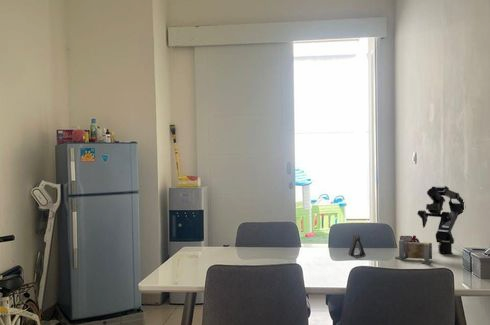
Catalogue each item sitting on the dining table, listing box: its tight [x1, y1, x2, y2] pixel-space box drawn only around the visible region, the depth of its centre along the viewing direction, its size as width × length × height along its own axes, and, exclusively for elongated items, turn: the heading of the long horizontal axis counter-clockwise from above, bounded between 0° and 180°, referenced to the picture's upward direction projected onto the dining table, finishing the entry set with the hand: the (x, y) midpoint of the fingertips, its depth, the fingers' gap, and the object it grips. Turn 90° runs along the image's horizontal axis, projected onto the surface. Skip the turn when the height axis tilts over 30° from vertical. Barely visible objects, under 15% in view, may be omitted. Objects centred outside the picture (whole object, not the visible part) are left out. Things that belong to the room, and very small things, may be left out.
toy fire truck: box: [399, 235, 421, 247], centre depth 271 cm, size 7×12×10 cm, turn 84°
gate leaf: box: [405, 242, 433, 260], centre depth 249 cm, size 14×2×9 cm, turn 75°
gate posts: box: [394, 239, 432, 265], centre depth 247 cm, size 20×7×11 cm, turn 45°
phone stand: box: [347, 233, 366, 257], centre depth 267 cm, size 9×6×12 cm, turn 89°
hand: (431, 228), depth 256 cm, fingers open, 9 cm apart
